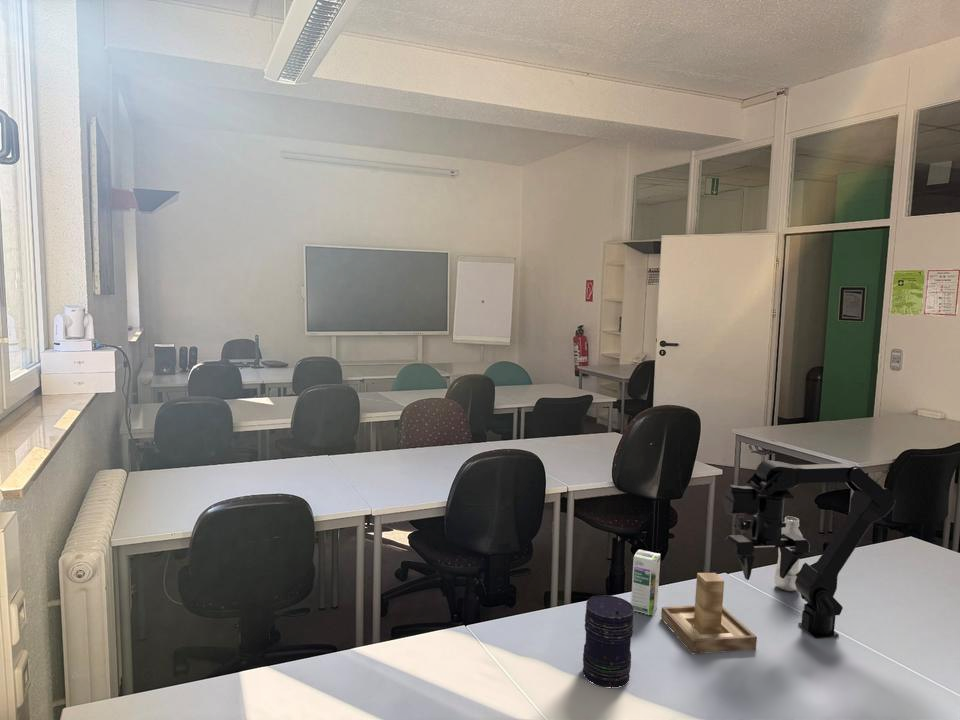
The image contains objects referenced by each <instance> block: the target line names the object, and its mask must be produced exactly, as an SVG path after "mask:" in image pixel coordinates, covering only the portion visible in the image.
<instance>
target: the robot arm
mask: <svg viewBox="0 0 960 720" xmlns="http://www.w3.org/2000/svg"><path fill="white" fill-rule="evenodd" d="M864 471H865V470H863V469H862V468H861V467H859V466H857V465H856V464H853V463H851V462H842V463H821V464H820V463H819V464H818V463H817V464H792V463H787V462H783V461H777V460H770V459H766V460H762V461H761V462H760V463H759V464H758V465H757V467H756V470H755V472H754V473H752V475H751V476H750V477H749V479H748V480H747V481H746V482H745V484H744V485H735V484H729V485H728V489H727V490H726V491H725V492H724V495H723V497H722V501H723V508H724V511H725V513H726V514H727V515H732V516H734V515H735V518H734V521H733V522H734V529H735V531H740V532H741V534H734V535H733V534H732V535H731V534H730V535H727V537H726V538H725V539H724V541H725V542H724V546H725V548H727V549H728V550H729V551H731V552H732V553H734V554H736V556H737V557H738V560H739V563H740V565H741V569H742V572H743V576H744V579H745V580H747V581H748V580H750V578H751V575H752V570H753V565H754V560H755V555H753V553H754V552H755V549H766V548H767V549H768V548H778V547H779V548H778V549H780V552H781V560H780V577H781V578H785V576H786V575H787V573H788V572H789V570H790V569H791V568H792V566H793V565H794V564H795V563H796V562H797V560H798V559H799V560H800V558H801V557H805V554H808V553H810V543H809V541H808V539H806V538H805V537H801V536H799V535H797V534H796V533H786V534H782V528H783V527H786V523H785V521H783V520H784V507H785V499H787V500H788V499H790V500H791V499H794V498H795V496H794V495H793V493H791V492H790V489H794V488H795V487H797V486H799V485H805V484H807V485H808V484H832V483H833V484H834V483H845V484H846V485H847V486H848V488H850V490H852V492H853V493H852V495H851V498H850V501H849V502H850V506H849V507H850V508H849V512H848V515H846V517H845V519H844V521H843V522H842V523H841V525H840V527H839V528H838V529H837V531H836V533H835V534H834V535H833V538H831V540H830V542H829V543H828V545H827V546H826V548H825V550H824V551H823V552H822V554H821V556H820V557H819V559H818V560H817V561H816V562H814V563H812V564H808V563H807V562H804V563H803V564H802V566H801V567H800V569H799V573H797V574H796V575H795V576H796V577H797V578H796V580H795V584H796V589H797V590H796V591H797V592H798V593H799V594H800V597H801V599H803V601H805V602H806V603H804V606H803V610H802V614H801V622H798V623H797V626H799V627H800V628H801V629H802V630H804V631H805V632H806V633H808V634H809V635H810V636H811V637H813V638H814V639H824V638H825V639H827V638H828V639H829V638H839V636H840V635H839V633H838V632H836V631H835V625H836V616H840V615H841V614H842V613H841V612H842V611H843V609H844V607H843V605H842V604H841V603H839V601H838V600H837V599H836V598H835V597H834V596H835V593H836V591H837V588H838V578H839V577H838V576H839V573H840V572H841V570H842V569H843V567H844V566H845V564H846V563H847V561H848V559H849V558H850V557H851V555H852V553H853V552H854V551H855V549H856V547H857V546H858V545H859V543H860V542H861V540H862V538H863V537H864V536H865V534H866V533H867V531H868V530H869V528H870V526H871V525H872V524H874V523H876V522H878V521H880V520H882V519H883V518H886V516H887V515H888V514H889V513H890V511H892V509H893V508H894V506H895V504H896V498H895V495H894V493H893V492H892V491H891V490H890V489H888V488H886V487H883V486H882V485H880V484H879V482H876V481H875V480H874V479H873V478H872V477H870V476H869V475H868V474H867V473H866V472H864ZM761 483H762V484H764V486H763V485H762V484H761ZM737 515H738V516H737ZM739 515H740V516H739ZM746 516H752V517H751V519H750V520H747V519H746ZM742 534H743V535H742ZM744 534H748V536H749V537H751V538H754V539H749V538H747V537H746V536H744ZM781 534H782V535H781Z"/></svg>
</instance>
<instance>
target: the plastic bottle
mask: <svg viewBox="0 0 960 720" xmlns="http://www.w3.org/2000/svg"><path fill="white" fill-rule="evenodd" d="M784 522H785V523H786V527H782V534H786V533H796V534H797V535H799V536H801V537H803V533H801V530H800V529H799V527H800V519H799V518H797V517H795V516H789V515H787V516H785V517H784ZM782 534H781V535H782ZM803 538H804V537H803ZM777 548H778V556H777V557H778V558H777V563H776V569H775V572H774V576H773V579H774V584H775V586H776V587H777V588H778V589H781V590H783V591H786V592H795V591H798V590H797V589H796V584H795V580H796V578H797V577H796V576H795V575H796V574H797V573H799V571H800V558H799V559H798V560H797V562H796V563H795V564H794V565H793V566H792V568H791V569H790V570H789V572H788V573H787V575H786V576H785V578H781V577H780V560H781V552H780V549H779V547H777Z"/></svg>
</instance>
